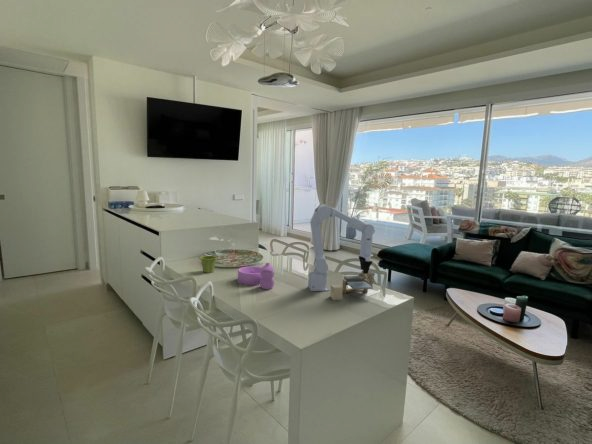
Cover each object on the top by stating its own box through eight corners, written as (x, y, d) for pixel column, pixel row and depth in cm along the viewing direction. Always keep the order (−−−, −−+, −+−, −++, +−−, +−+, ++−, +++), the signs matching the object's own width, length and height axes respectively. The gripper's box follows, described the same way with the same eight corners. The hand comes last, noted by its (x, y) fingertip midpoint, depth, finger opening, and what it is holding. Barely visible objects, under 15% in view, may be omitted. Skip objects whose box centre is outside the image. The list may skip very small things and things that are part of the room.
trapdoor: (353, 292, 156) (353, 284, 156) (342, 282, 170) (343, 276, 170) (372, 291, 158) (372, 284, 158) (360, 282, 172) (361, 275, 172)
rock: (362, 287, 172) (365, 269, 173) (353, 285, 177) (357, 267, 179) (377, 291, 178) (380, 273, 180) (368, 289, 184) (371, 272, 185)
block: (333, 299, 155) (333, 287, 155) (330, 296, 160) (330, 284, 159) (341, 299, 156) (342, 287, 155) (338, 296, 161) (339, 284, 160)
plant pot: (199, 270, 195) (199, 256, 194) (214, 269, 199) (215, 255, 198) (201, 274, 187) (201, 259, 185) (217, 273, 191) (218, 258, 189)
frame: (343, 293, 165) (344, 280, 164) (340, 290, 170) (341, 277, 169) (367, 292, 167) (368, 280, 167) (363, 289, 172) (364, 277, 172)
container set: (232, 280, 179) (232, 256, 177) (254, 275, 189) (255, 253, 188) (259, 292, 161) (260, 266, 159) (282, 287, 171) (283, 262, 169)
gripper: (376, 249, 163) (374, 275, 164) (371, 244, 177) (369, 268, 179) (362, 248, 163) (360, 274, 164) (358, 243, 177) (356, 267, 179)
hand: (364, 271), depth 172 cm, fingers open, 7 cm apart
